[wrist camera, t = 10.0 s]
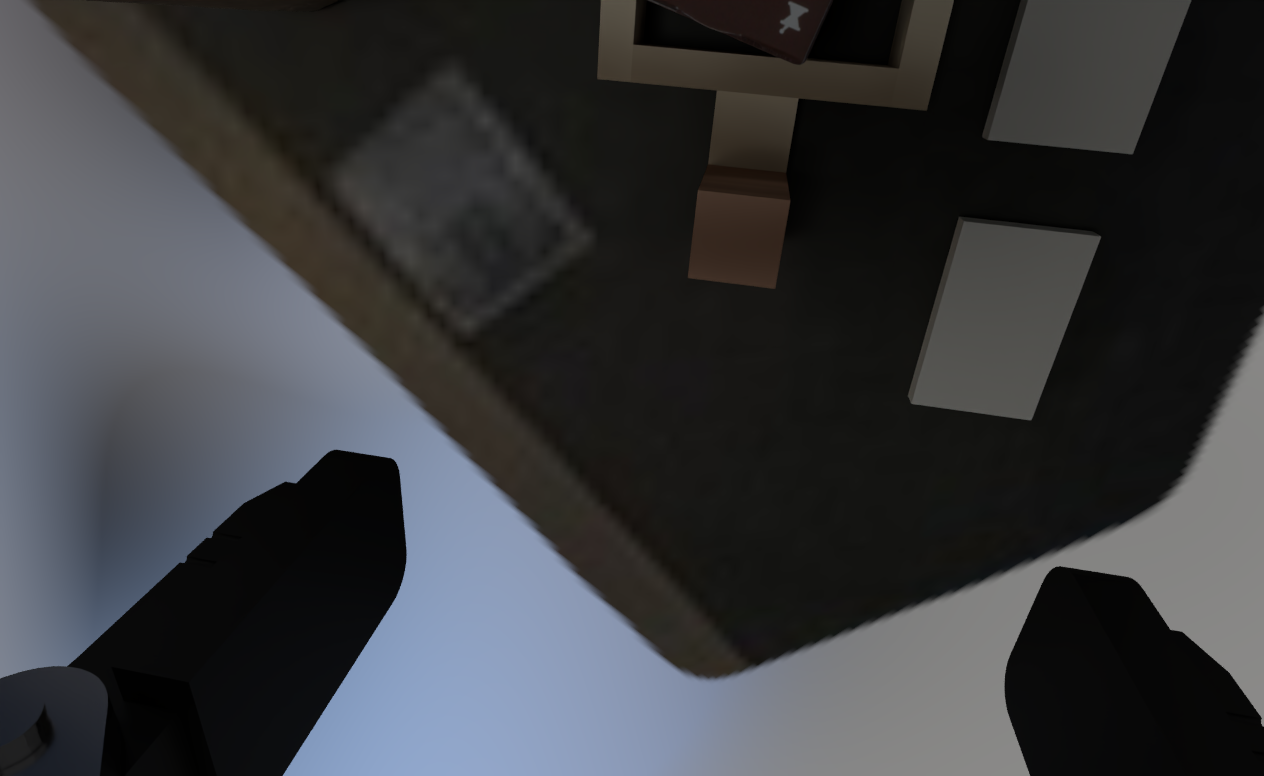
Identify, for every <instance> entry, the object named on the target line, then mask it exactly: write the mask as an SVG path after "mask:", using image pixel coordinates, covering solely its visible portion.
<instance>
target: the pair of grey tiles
mask: <svg viewBox="0 0 1264 776" xmlns="http://www.w3.org/2000/svg"><path fill="white" fill-rule="evenodd" d="M1190 2H1191V0H1021V1H1020V5H1019V8H1018V12H1017V15H1016V19H1015V22H1014V26H1013V29H1012V33H1011V36H1010V40H1009V43H1008V47H1007V50H1006V54H1005V57H1004V61H1003V64H1002V68H1001V71H1000V75H999V78H998V82H997V85H996V89H995V92H994V96H993V99H992V103H991V106H990V110H989V113H988V117H987V120H986V124H985V127H984V131H983V134H982V137H983V138H985V139H987V140H994V141H1004V142H1014V143H1024V144H1034V145H1044V146H1054V147H1064V148H1074V149H1085V150H1095V151H1105V152H1115V153H1125V154H1133V152H1134V149H1135V147H1136V144H1137V142H1138V139H1139V136H1140V134H1141V131H1142V128H1143V126H1144V123H1145V121H1146V118H1147V115H1148V113H1149V110H1150V107H1151V105H1152V102H1153V100H1154V97H1155V94H1156V92H1157V89H1158V86H1159V84H1160V81H1161V79H1162V76H1163V73H1164V71H1165V68H1166V65H1167V63H1168V60H1169V58H1170V55H1171V52H1172V50H1173V47H1174V44H1175V42H1176V39H1177V37H1178V34H1179V31H1180V29H1181V26H1182V23H1183V21H1184V18H1185V16H1186V13H1187V10H1188V8H1189V5H1190ZM1100 239H1101V236H1099V235H1098V234H1096V233H1095V232H1093V231H1085V230H1076V229H1067V228H1058V227H1049V226H1040V225H1031V224H1022V223H1013V222H1004V221H995V220H986V219H977V218H968V217H959V218H958V222H957V225H956V229H955V232H954V236H953V239H952V243H951V246H950V250H949V253H948V257H947V260H946V264H945V267H944V271H943V275H942V278H941V282H940V285H939V289H938V292H937V296H936V299H935V303H934V306H933V310H932V313H931V317H930V320H929V324H928V327H927V331H926V334H925V338H924V341H923V345H922V348H921V352H920V355H919V359H918V362H917V366H916V369H915V373H914V376H913V380H912V383H911V387H910V390H909V394H908V397H909V399H910V402H911V404H917V405H924V406H932V407H939V408H946V409H953V410H960V411H968V412H975V413H982V414H989V415H996V416H1004V417H1011V418H1018V419H1025V420H1032V417H1033V414H1034V412H1035V409H1036V407H1037V404H1038V401H1039V399H1040V396H1041V393H1042V391H1043V388H1044V386H1045V383H1046V380H1047V378H1048V375H1049V372H1050V370H1051V367H1052V365H1053V362H1054V359H1055V357H1056V354H1057V351H1058V349H1059V346H1060V344H1061V341H1062V338H1063V336H1064V333H1065V330H1066V328H1067V325H1068V323H1069V320H1070V317H1071V315H1072V312H1073V309H1074V307H1075V304H1076V302H1077V299H1078V296H1079V294H1080V291H1081V288H1082V286H1083V283H1084V281H1085V278H1086V275H1087V273H1088V270H1089V267H1090V265H1091V262H1092V260H1093V257H1094V254H1095V252H1096V249H1097V246H1098V244H1099V241H1100Z"/></svg>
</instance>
